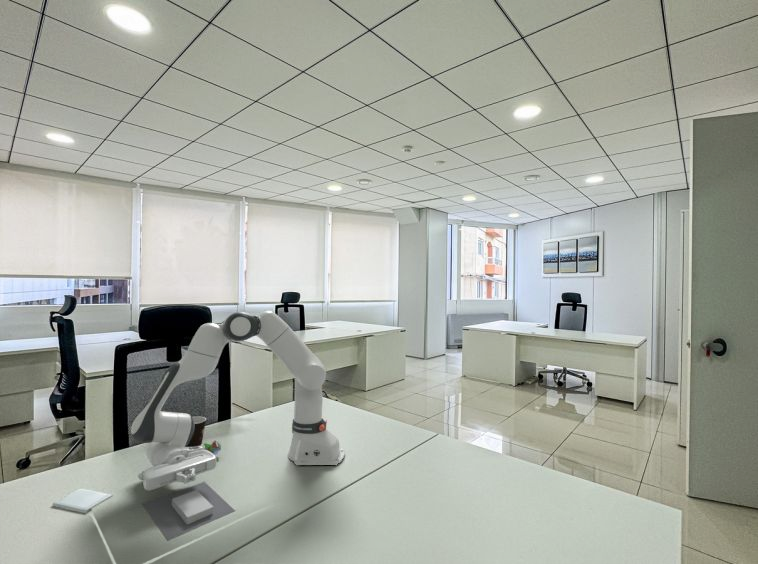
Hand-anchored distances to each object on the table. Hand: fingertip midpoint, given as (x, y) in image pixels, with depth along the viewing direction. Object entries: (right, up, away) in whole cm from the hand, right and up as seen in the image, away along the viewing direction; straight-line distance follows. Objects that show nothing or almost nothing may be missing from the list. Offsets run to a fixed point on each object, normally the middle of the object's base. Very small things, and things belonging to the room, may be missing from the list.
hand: (190, 479), depth 106 cm
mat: (0, -9, 0) cm, 9 cm away
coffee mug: (-21, -9, +44) cm, 49 cm away
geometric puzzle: (-8, -9, +30) cm, 32 cm away
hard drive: (-33, -8, +1) cm, 34 cm away
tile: (-3, -7, +2) cm, 8 cm away
